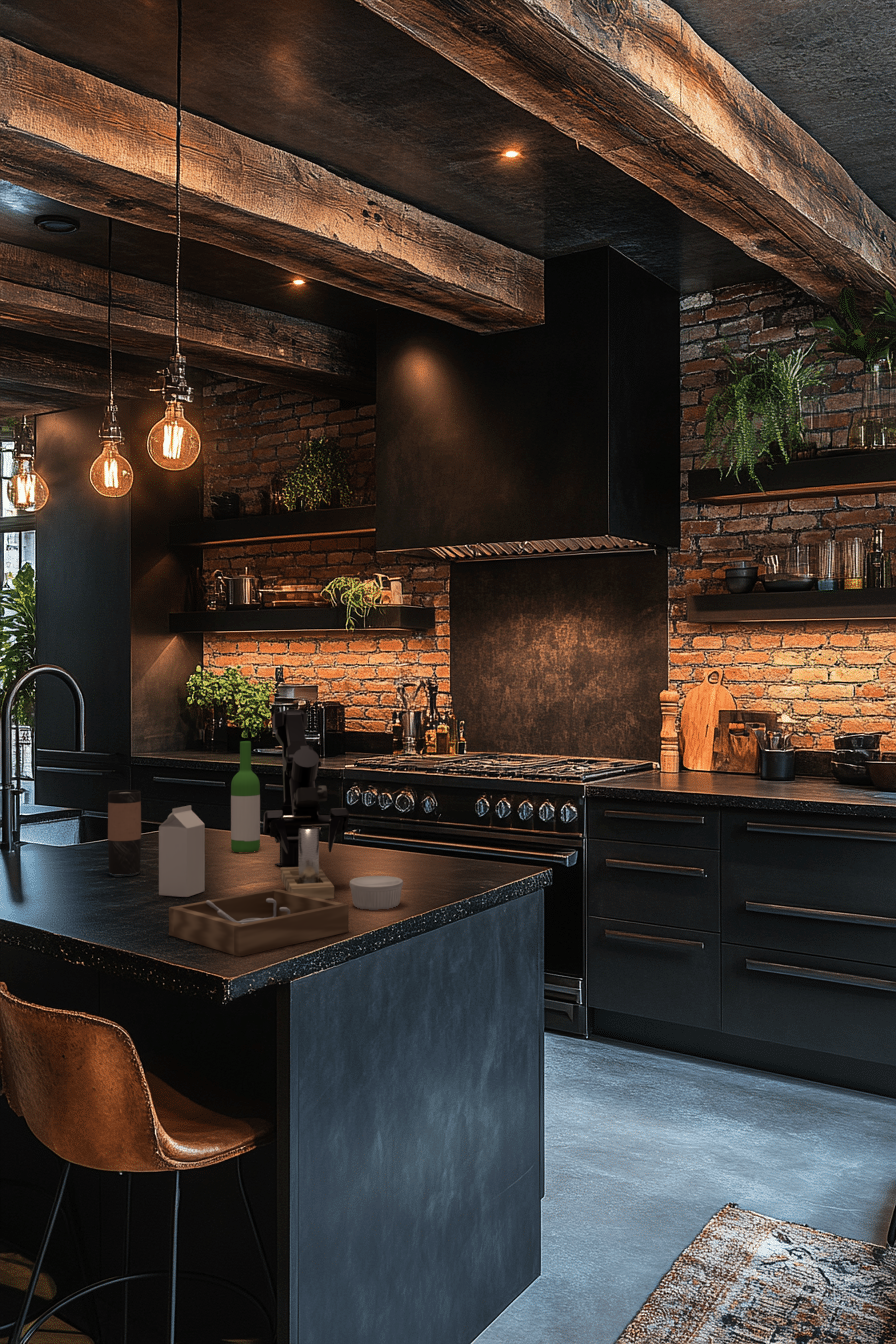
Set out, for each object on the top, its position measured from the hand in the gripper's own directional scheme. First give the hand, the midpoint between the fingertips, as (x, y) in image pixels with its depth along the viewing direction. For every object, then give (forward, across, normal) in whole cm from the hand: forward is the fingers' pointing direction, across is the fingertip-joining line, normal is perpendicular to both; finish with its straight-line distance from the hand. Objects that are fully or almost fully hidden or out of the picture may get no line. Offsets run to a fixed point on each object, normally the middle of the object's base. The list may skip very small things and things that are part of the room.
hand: (309, 852), depth 231 cm
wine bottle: (-37, -10, +50) cm, 63 cm away
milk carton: (+2, -27, +12) cm, 29 cm away
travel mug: (-17, -40, +31) cm, 54 cm away
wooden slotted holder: (+2, 0, +11) cm, 11 cm away
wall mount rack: (+29, -15, -16) cm, 37 cm away
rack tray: (+30, -13, -18) cm, 38 cm away
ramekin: (+18, +12, -5) cm, 22 cm away
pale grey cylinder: (+5, 0, +8) cm, 9 cm away
